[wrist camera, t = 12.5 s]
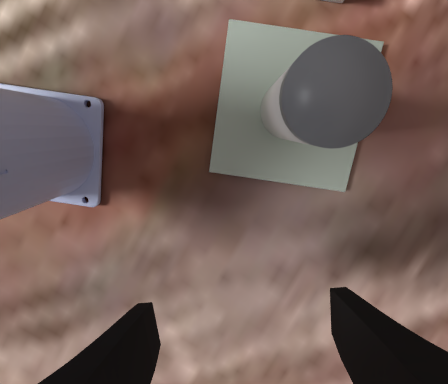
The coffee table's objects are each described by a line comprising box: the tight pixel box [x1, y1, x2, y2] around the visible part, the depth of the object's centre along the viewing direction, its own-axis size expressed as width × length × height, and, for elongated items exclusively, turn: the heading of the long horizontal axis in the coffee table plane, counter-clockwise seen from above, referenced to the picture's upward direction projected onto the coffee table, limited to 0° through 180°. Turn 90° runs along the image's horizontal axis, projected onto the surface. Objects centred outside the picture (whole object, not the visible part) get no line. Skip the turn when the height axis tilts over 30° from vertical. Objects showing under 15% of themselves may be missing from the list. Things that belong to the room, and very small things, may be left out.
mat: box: [209, 19, 384, 192], centre depth 18 cm, size 10×10×1 cm
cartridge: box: [260, 35, 392, 149], centre depth 14 cm, size 4×4×8 cm
